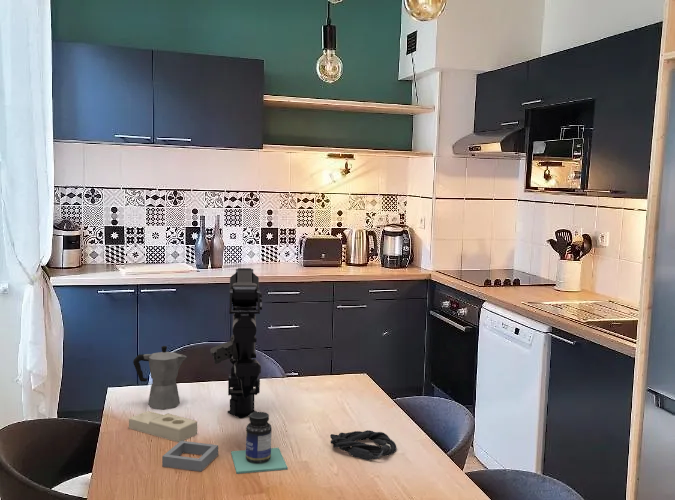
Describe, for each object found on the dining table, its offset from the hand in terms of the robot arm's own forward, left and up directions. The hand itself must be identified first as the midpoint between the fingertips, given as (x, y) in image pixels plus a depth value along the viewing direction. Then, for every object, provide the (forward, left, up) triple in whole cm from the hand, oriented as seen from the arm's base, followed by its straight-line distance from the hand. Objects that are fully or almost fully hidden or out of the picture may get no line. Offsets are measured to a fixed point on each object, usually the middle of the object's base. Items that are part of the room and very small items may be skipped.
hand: (243, 391), depth 172 cm
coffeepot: (+2, -38, -13) cm, 40 cm away
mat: (+5, +13, -13) cm, 19 cm away
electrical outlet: (+12, -19, -14) cm, 26 cm away
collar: (+17, +2, -13) cm, 22 cm away
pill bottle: (+5, +13, -13) cm, 19 cm away
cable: (-20, +24, -14) cm, 34 cm away
